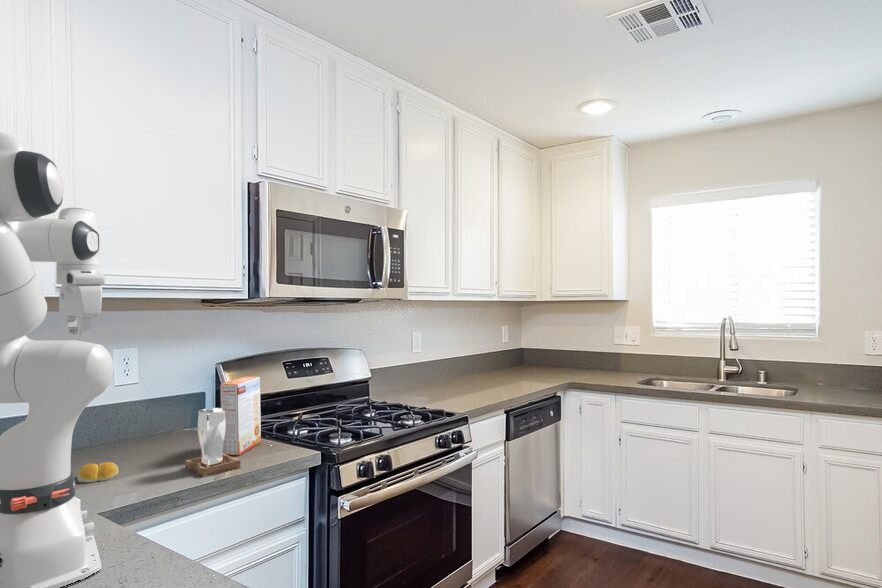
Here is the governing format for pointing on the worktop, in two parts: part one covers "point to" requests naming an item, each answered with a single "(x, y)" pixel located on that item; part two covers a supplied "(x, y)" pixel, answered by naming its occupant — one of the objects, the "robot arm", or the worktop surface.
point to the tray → (228, 465)
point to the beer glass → (211, 435)
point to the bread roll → (97, 472)
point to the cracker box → (241, 414)
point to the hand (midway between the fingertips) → (78, 335)
